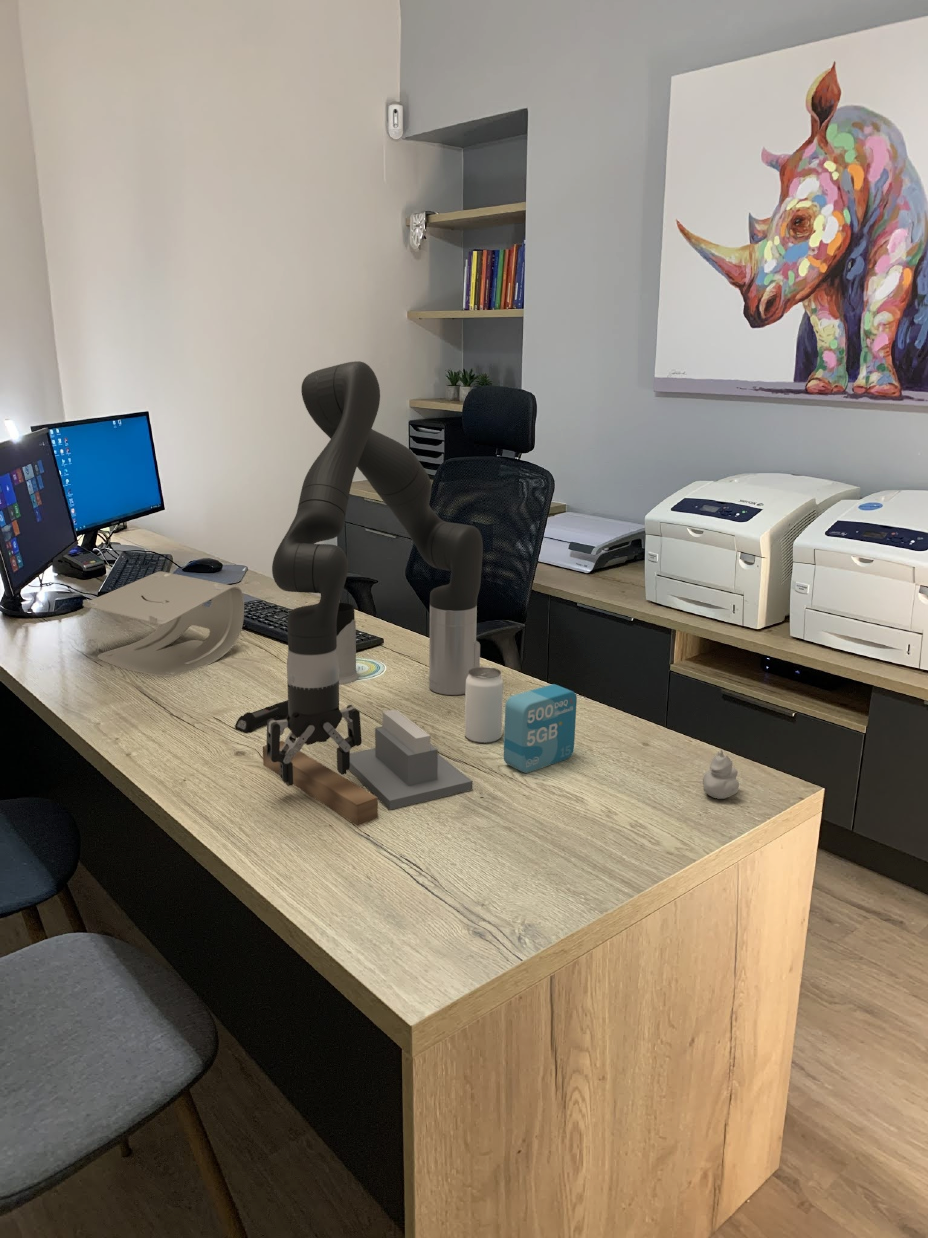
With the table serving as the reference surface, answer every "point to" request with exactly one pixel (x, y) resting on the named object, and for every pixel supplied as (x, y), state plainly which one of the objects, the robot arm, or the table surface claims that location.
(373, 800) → the walnut bar
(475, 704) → the can
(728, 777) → the rubber duck
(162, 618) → the portable electronic device stand
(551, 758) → the data package
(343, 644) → the grey black mug
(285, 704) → the electric trimmer
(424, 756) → the stand
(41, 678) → the table surface
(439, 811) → the table surface
